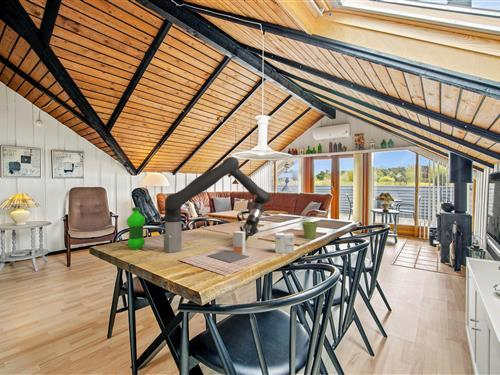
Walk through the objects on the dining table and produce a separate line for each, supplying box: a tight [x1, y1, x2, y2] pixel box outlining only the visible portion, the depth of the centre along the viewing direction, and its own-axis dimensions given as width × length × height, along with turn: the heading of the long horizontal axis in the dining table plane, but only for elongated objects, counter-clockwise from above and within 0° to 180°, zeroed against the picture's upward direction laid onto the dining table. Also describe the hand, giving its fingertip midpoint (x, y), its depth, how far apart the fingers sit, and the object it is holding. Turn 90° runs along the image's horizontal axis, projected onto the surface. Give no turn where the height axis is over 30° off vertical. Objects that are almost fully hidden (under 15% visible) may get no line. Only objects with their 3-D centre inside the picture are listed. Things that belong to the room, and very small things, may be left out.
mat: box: [207, 250, 250, 264], centre depth 137 cm, size 14×18×1 cm
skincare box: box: [232, 230, 246, 255], centre depth 145 cm, size 6×4×12 cm
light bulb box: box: [274, 232, 295, 255], centre depth 146 cm, size 11×7×11 cm, turn 84°
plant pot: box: [301, 221, 319, 240], centre depth 184 cm, size 12×12×11 cm
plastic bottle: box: [126, 206, 146, 250], centre depth 155 cm, size 10×10×25 cm
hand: (243, 240), depth 149 cm, fingers closed
